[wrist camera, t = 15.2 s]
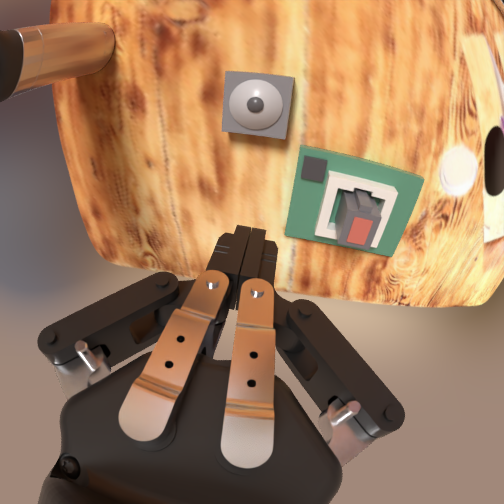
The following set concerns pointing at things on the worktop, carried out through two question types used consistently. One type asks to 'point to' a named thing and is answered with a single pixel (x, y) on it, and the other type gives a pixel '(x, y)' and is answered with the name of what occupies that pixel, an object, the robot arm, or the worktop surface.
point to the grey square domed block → (257, 103)
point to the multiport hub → (500, 5)
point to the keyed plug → (357, 219)
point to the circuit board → (347, 177)
